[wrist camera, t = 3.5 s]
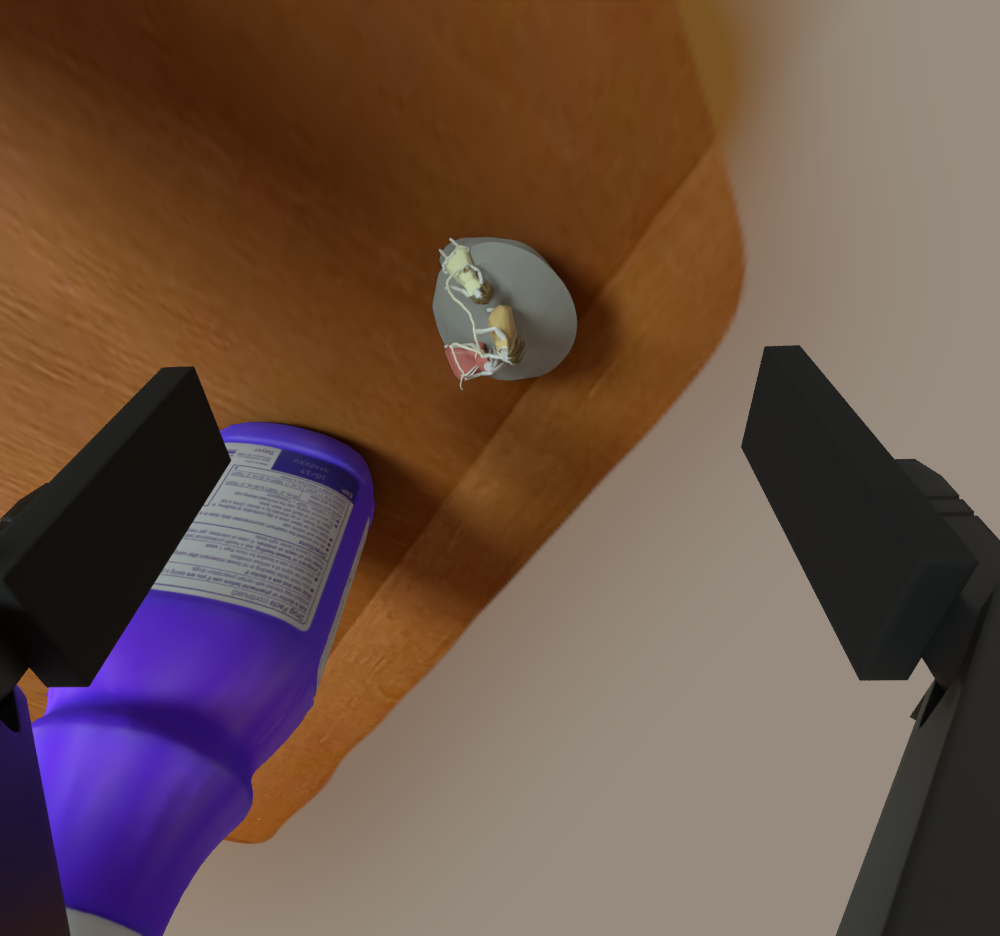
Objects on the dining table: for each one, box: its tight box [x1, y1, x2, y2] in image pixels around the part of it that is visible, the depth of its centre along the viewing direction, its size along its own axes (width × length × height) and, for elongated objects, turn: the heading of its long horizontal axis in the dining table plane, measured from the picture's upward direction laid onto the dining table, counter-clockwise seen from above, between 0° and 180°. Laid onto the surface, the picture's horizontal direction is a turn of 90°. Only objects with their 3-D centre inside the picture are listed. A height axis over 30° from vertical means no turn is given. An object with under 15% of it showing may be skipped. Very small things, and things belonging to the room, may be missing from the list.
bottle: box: [31, 422, 375, 936], centre depth 19 cm, size 7×6×17 cm
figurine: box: [432, 237, 577, 390], centre depth 18 cm, size 5×4×6 cm
